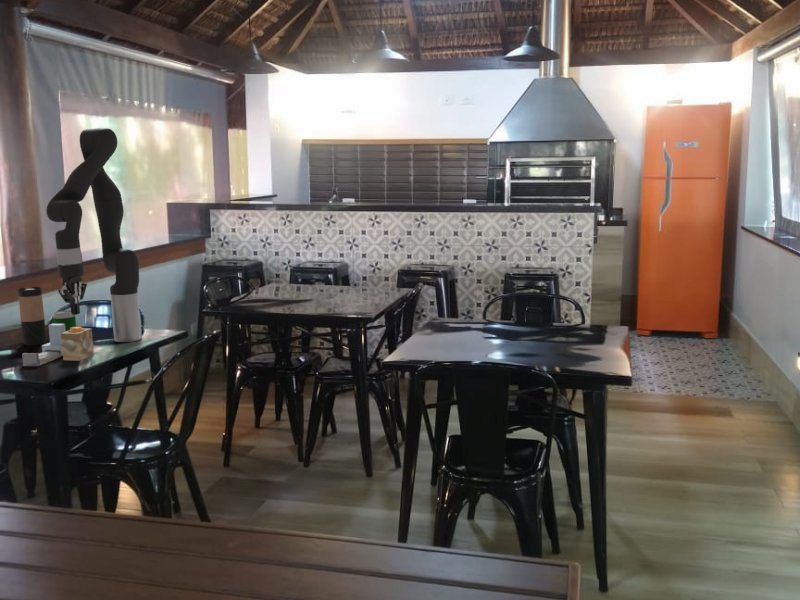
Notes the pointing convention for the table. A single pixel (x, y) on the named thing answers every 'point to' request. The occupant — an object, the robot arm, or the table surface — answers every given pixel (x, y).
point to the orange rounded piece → (76, 329)
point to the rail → (40, 357)
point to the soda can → (64, 319)
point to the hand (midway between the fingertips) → (75, 314)
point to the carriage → (55, 338)
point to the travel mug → (32, 316)
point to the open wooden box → (77, 344)
